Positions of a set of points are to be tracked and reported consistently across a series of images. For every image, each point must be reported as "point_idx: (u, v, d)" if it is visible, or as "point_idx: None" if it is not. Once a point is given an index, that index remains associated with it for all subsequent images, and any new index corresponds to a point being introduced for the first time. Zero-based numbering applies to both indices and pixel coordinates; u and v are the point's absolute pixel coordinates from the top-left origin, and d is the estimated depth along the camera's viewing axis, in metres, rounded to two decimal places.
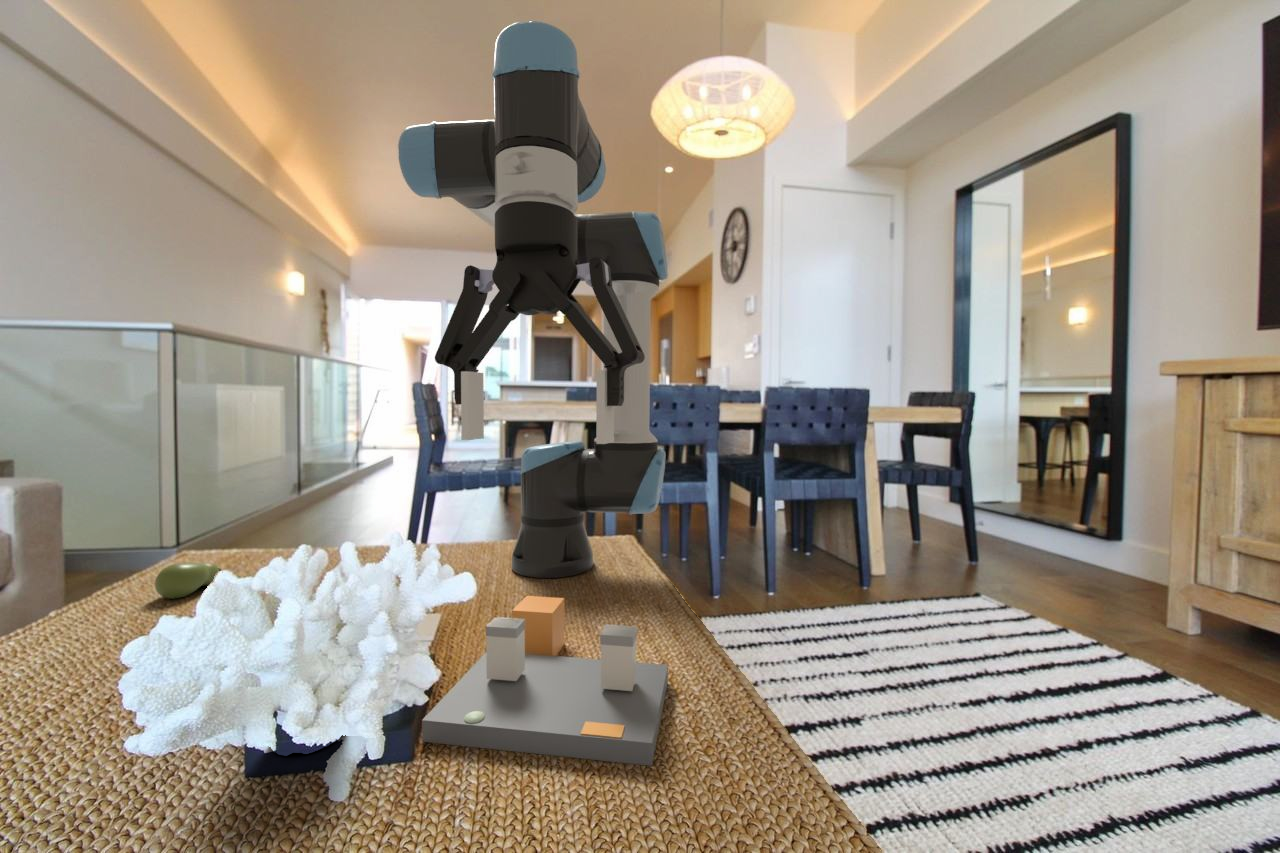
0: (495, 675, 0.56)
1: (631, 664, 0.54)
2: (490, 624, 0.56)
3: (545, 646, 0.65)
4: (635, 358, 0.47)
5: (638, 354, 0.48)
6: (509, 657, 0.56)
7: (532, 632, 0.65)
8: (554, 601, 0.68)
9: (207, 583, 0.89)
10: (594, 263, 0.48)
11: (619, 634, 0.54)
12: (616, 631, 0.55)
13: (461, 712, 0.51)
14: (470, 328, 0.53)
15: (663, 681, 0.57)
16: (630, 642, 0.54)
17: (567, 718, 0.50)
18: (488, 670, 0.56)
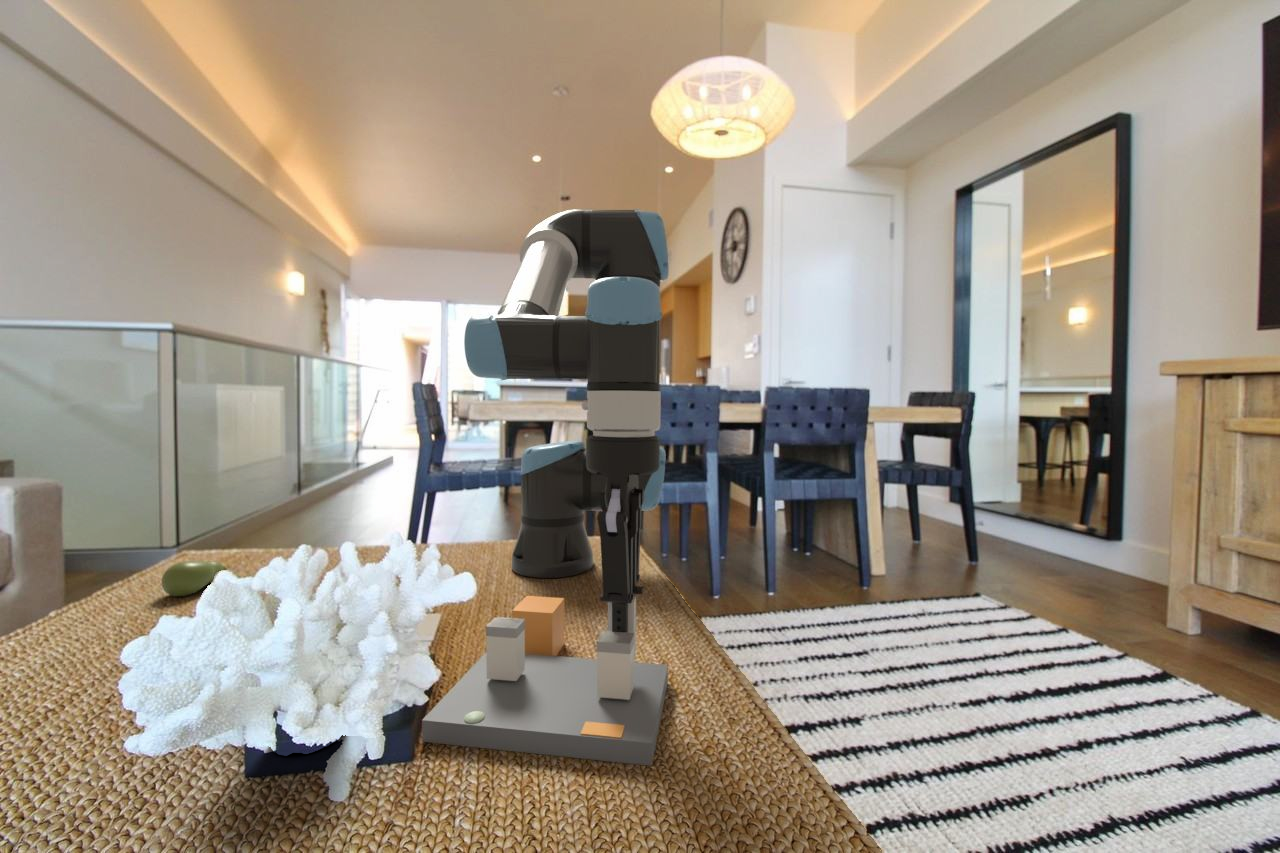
0: (495, 675, 0.56)
1: (628, 672, 0.52)
2: (490, 624, 0.56)
3: (545, 646, 0.65)
4: None
5: (606, 597, 0.53)
6: (509, 657, 0.56)
7: (532, 632, 0.65)
8: (554, 601, 0.68)
9: None
10: None
11: (616, 641, 0.53)
12: (613, 637, 0.53)
13: (461, 712, 0.51)
14: None
15: (663, 681, 0.57)
16: (627, 649, 0.52)
17: (567, 718, 0.50)
18: (488, 670, 0.56)
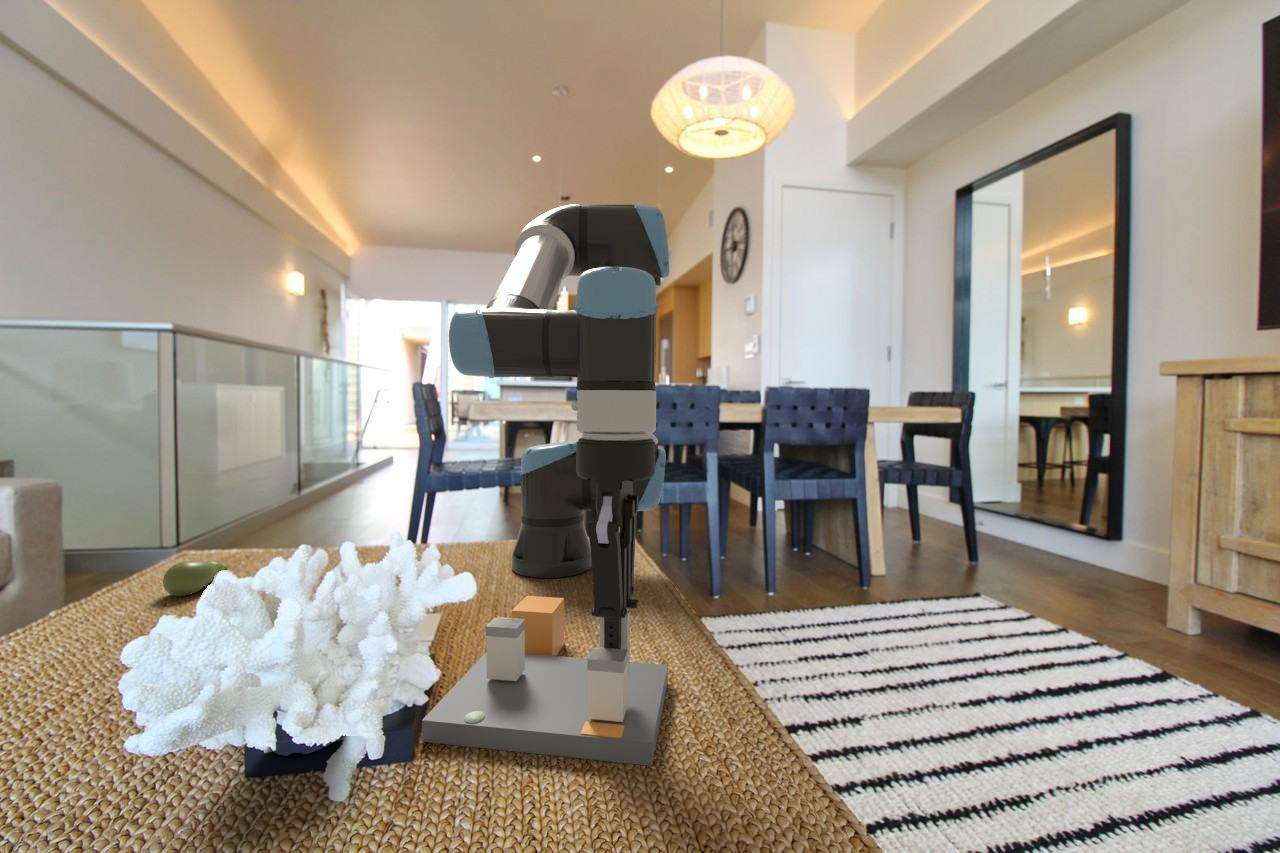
0: (495, 675, 0.56)
1: (621, 692, 0.49)
2: (490, 624, 0.56)
3: (545, 646, 0.65)
4: None
5: (597, 612, 0.49)
6: (509, 657, 0.56)
7: (532, 632, 0.65)
8: (554, 601, 0.68)
9: None
10: (588, 527, 0.47)
11: (608, 658, 0.49)
12: (605, 655, 0.50)
13: (461, 712, 0.51)
14: None
15: (663, 681, 0.57)
16: (620, 668, 0.49)
17: (567, 718, 0.50)
18: (488, 670, 0.56)
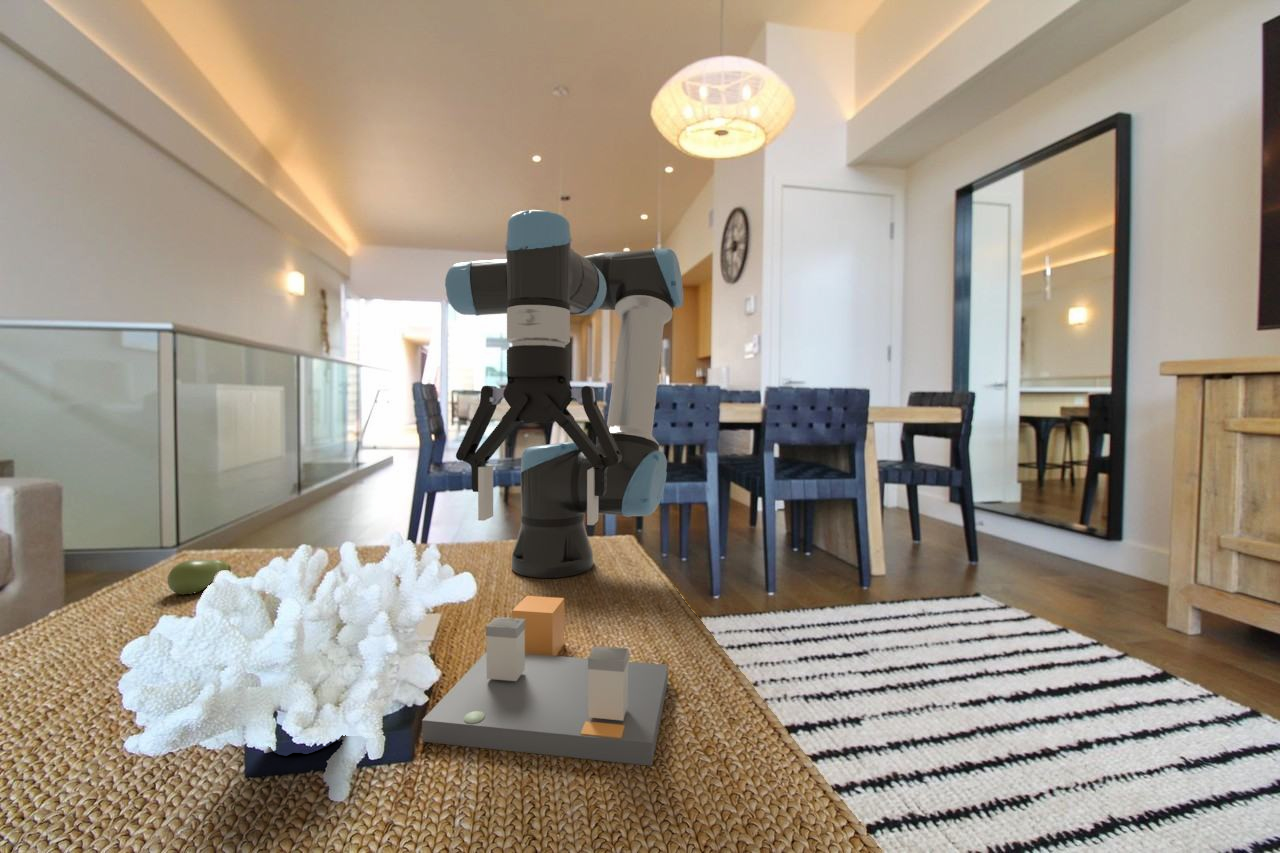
0: (495, 675, 0.56)
1: (622, 691, 0.49)
2: (490, 624, 0.56)
3: (545, 646, 0.65)
4: (616, 462, 0.64)
5: (618, 458, 0.64)
6: (509, 657, 0.56)
7: (532, 632, 0.65)
8: (554, 601, 0.68)
9: None
10: (585, 390, 0.64)
11: (608, 657, 0.49)
12: (605, 654, 0.50)
13: (461, 712, 0.51)
14: (483, 430, 0.68)
15: (663, 681, 0.57)
16: (621, 667, 0.49)
17: (567, 718, 0.50)
18: (488, 670, 0.56)
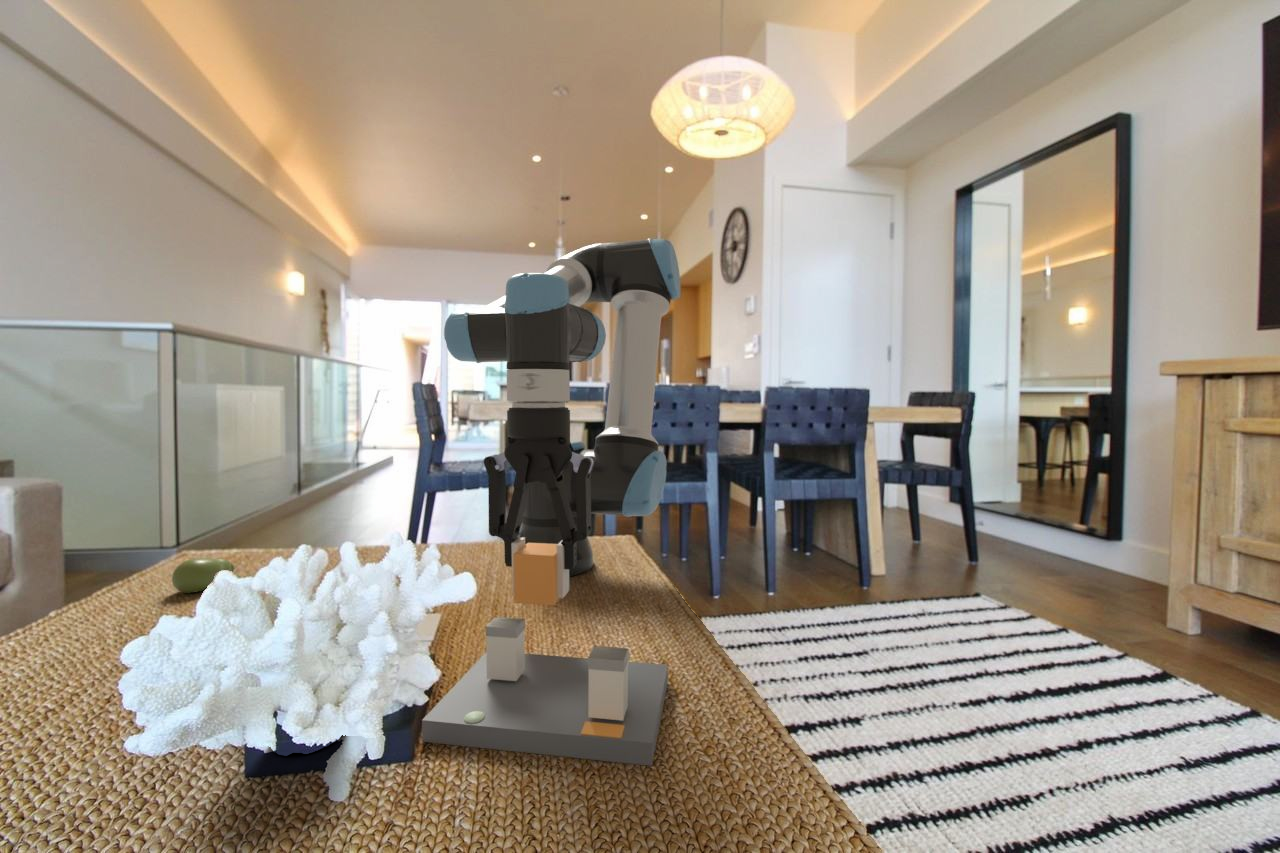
0: (495, 675, 0.56)
1: (622, 691, 0.49)
2: (490, 624, 0.56)
3: (547, 589, 0.65)
4: (583, 538, 0.65)
5: (587, 534, 0.66)
6: (509, 657, 0.56)
7: (534, 575, 0.65)
8: (555, 546, 0.68)
9: None
10: (584, 463, 0.65)
11: (608, 657, 0.49)
12: (605, 654, 0.50)
13: (461, 712, 0.51)
14: (503, 499, 0.68)
15: (663, 681, 0.57)
16: (621, 667, 0.49)
17: (567, 718, 0.50)
18: (488, 670, 0.56)
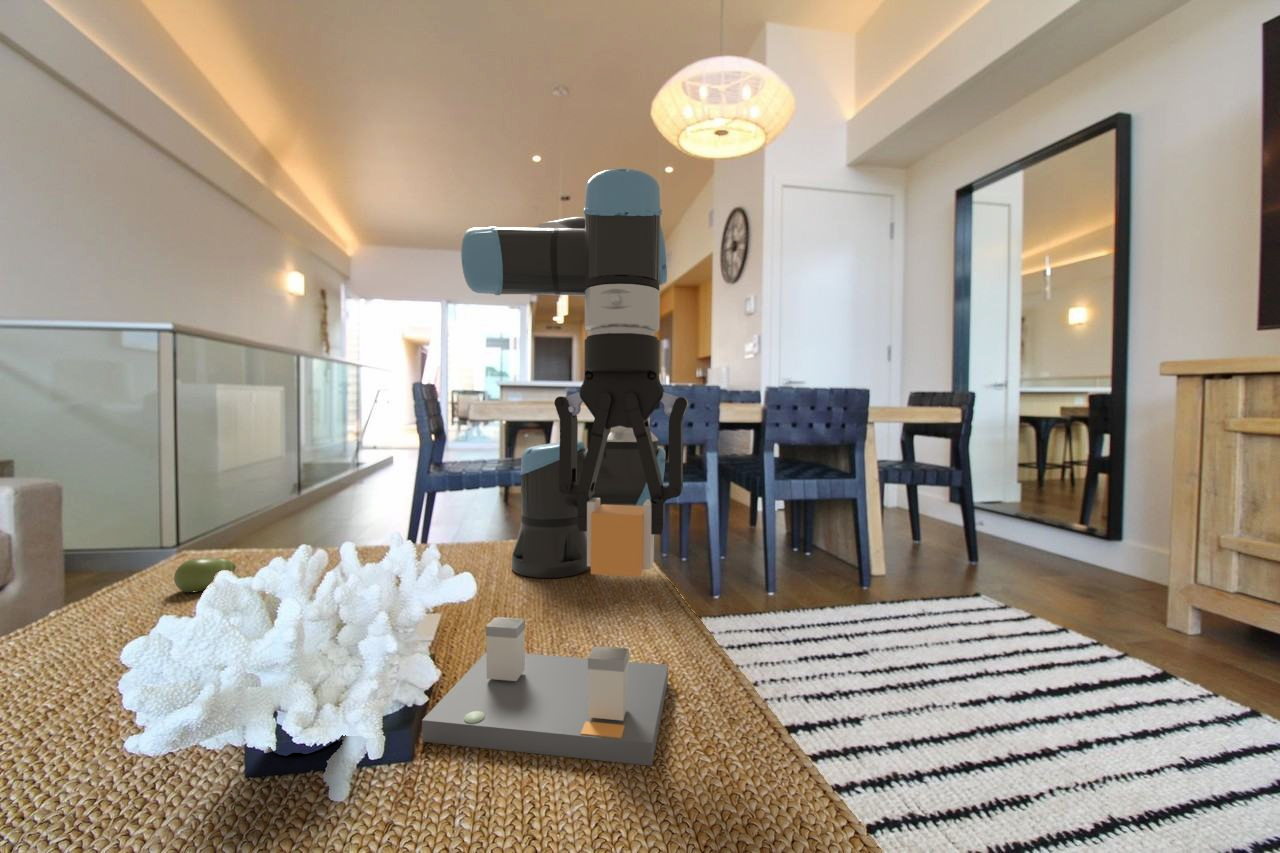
0: (495, 675, 0.56)
1: (622, 691, 0.49)
2: (490, 624, 0.56)
3: (632, 556, 0.53)
4: (677, 496, 0.53)
5: (681, 490, 0.54)
6: (509, 657, 0.56)
7: (616, 540, 0.53)
8: (638, 508, 0.56)
9: None
10: (680, 402, 0.53)
11: (608, 657, 0.49)
12: (605, 654, 0.50)
13: (461, 712, 0.51)
14: (575, 450, 0.57)
15: (663, 681, 0.57)
16: (621, 667, 0.49)
17: (567, 718, 0.50)
18: (488, 670, 0.56)
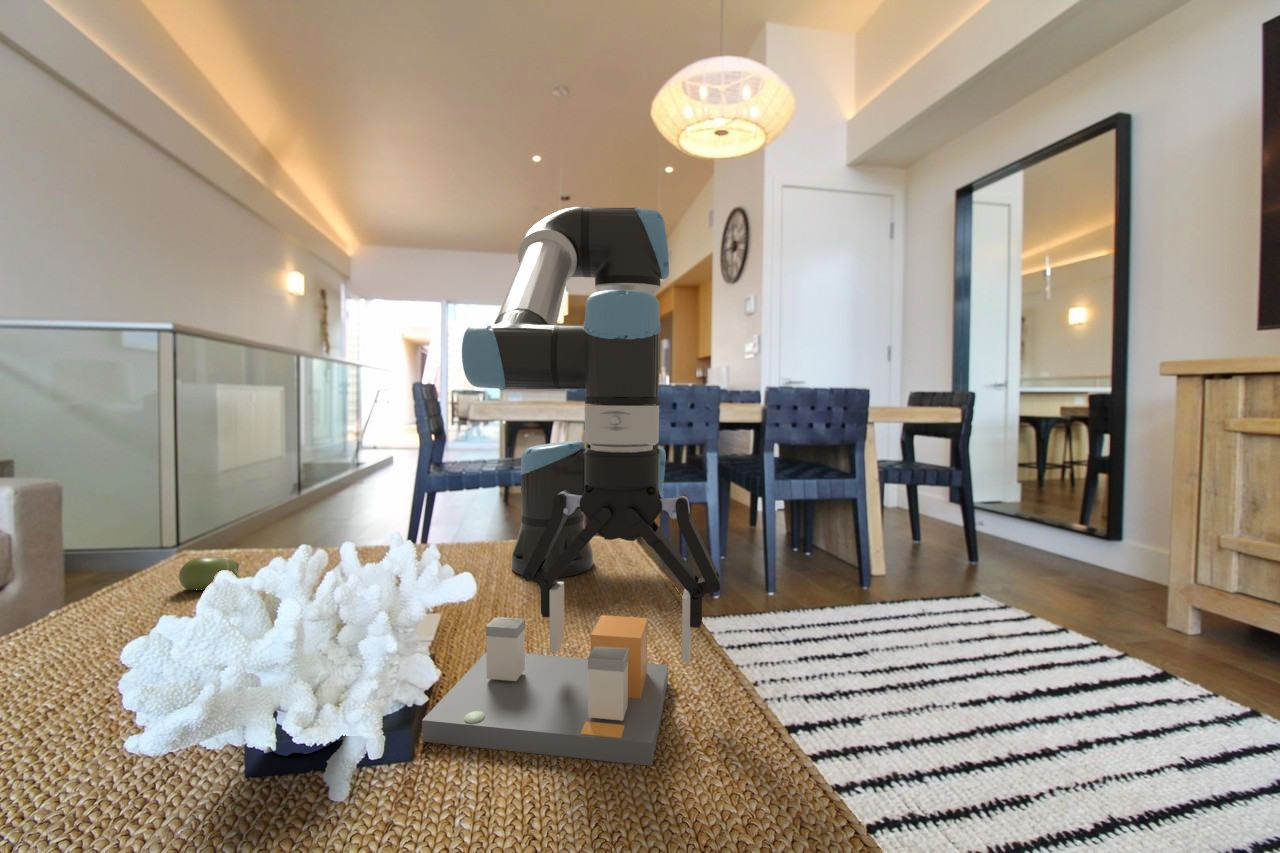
0: (495, 675, 0.56)
1: (622, 691, 0.49)
2: (490, 624, 0.56)
3: (631, 678, 0.53)
4: (718, 590, 0.53)
5: None
6: (509, 657, 0.56)
7: None
8: (637, 622, 0.57)
9: None
10: (680, 504, 0.53)
11: (608, 657, 0.49)
12: (605, 654, 0.50)
13: (461, 712, 0.51)
14: (553, 543, 0.58)
15: (663, 681, 0.57)
16: (621, 667, 0.49)
17: (567, 718, 0.50)
18: (488, 670, 0.56)
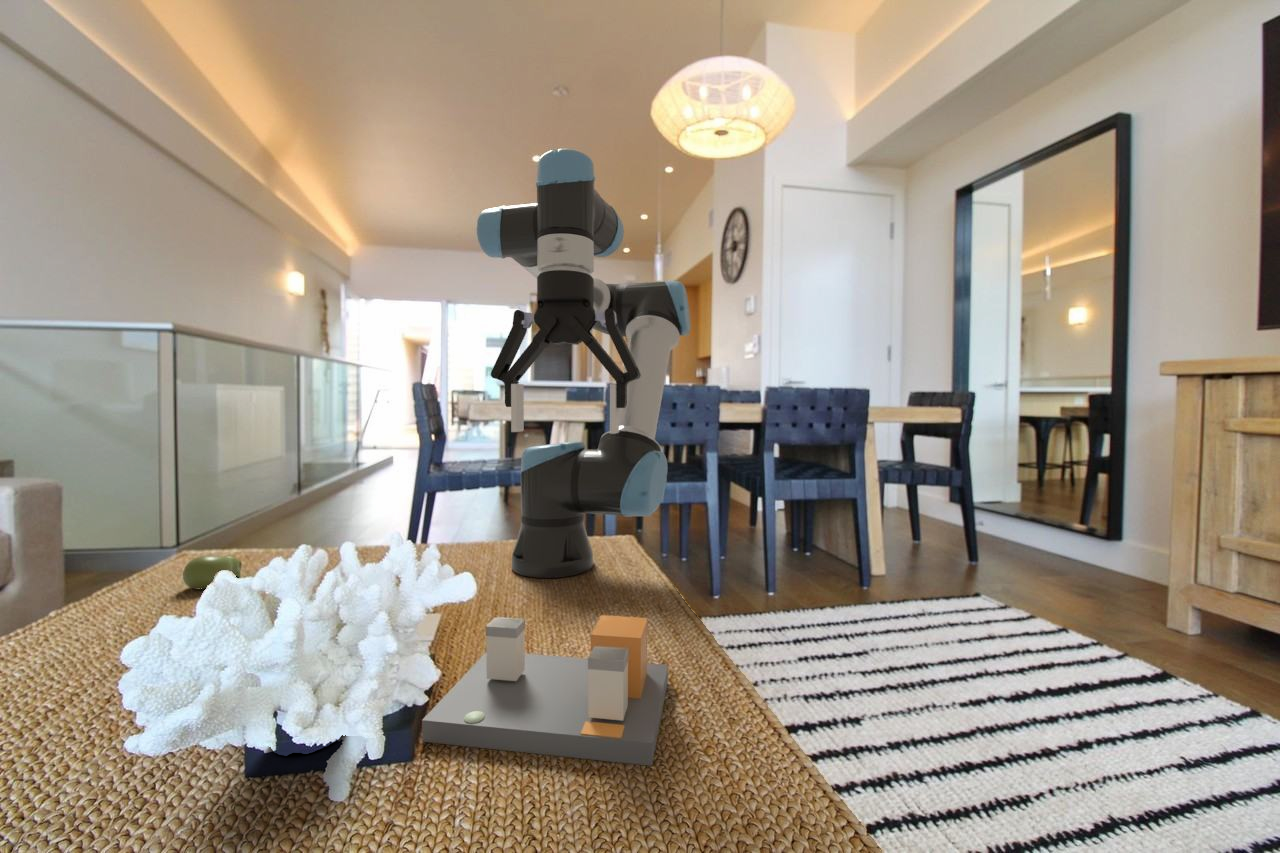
0: (495, 675, 0.56)
1: (622, 691, 0.49)
2: (490, 624, 0.56)
3: (631, 678, 0.53)
4: (636, 376, 0.71)
5: (638, 373, 0.71)
6: (509, 657, 0.56)
7: None
8: (637, 622, 0.57)
9: None
10: (608, 312, 0.71)
11: (608, 657, 0.49)
12: (605, 654, 0.50)
13: (461, 712, 0.51)
14: (515, 352, 0.75)
15: (663, 681, 0.57)
16: (621, 667, 0.49)
17: (567, 718, 0.50)
18: (488, 670, 0.56)
